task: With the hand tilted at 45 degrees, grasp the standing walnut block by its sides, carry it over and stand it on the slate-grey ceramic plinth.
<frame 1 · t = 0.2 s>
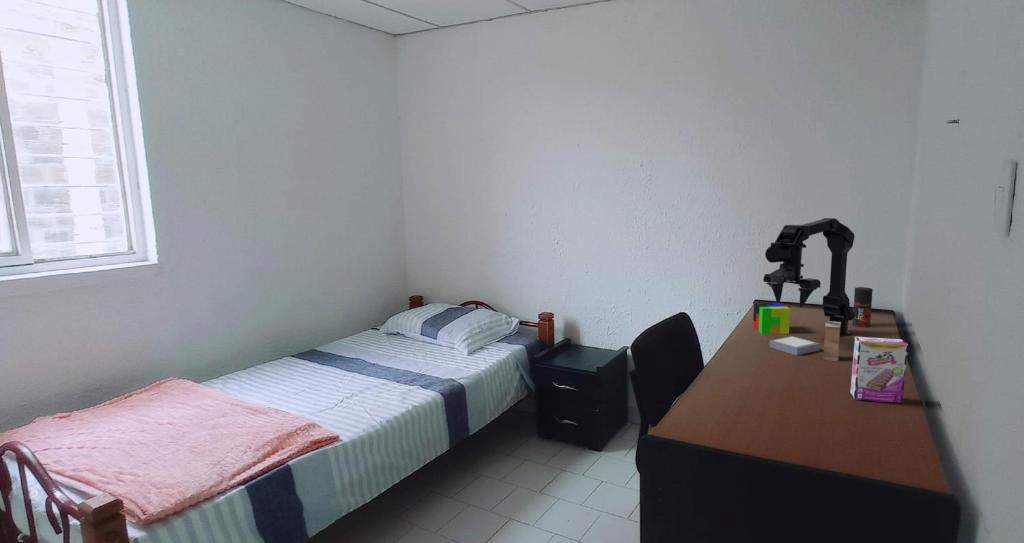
hand: (789, 304, 194), 15 cm above the table, tool pointing down, fingers open, 9 cm apart
walnut block: (830, 358, 180), on the table
puzzle toy: (770, 331, 216), on the table
deodorant: (861, 326, 218), on the table
candy bar box: (876, 399, 147), on the table
plinth: (794, 348, 192), on the table
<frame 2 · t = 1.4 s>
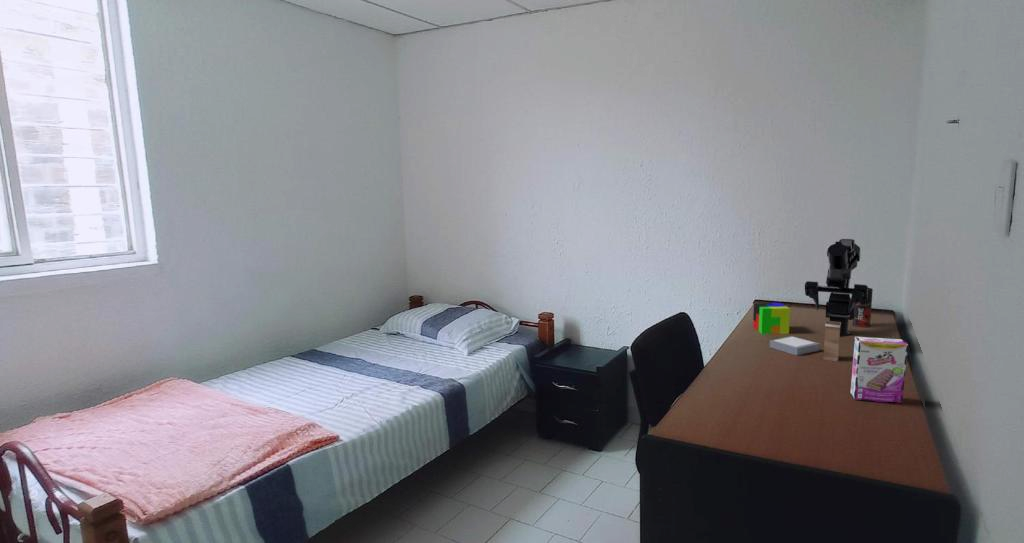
hand: (833, 310, 186), 14 cm above the table, tool tilted 45°, fingers open, 9 cm apart
nothing on the table moved.
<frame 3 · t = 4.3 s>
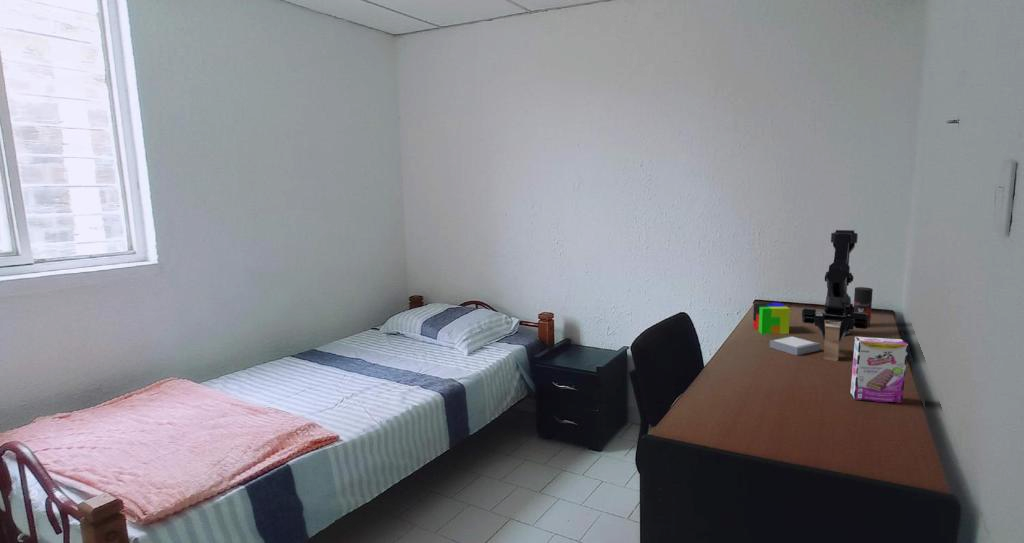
hand: (831, 340, 178), 7 cm above the table, tool tilted 45°, fingers closed on walnut block, 4 cm apart
walnut block: (830, 358, 180), on the table, touching gripper
everything else where it was.
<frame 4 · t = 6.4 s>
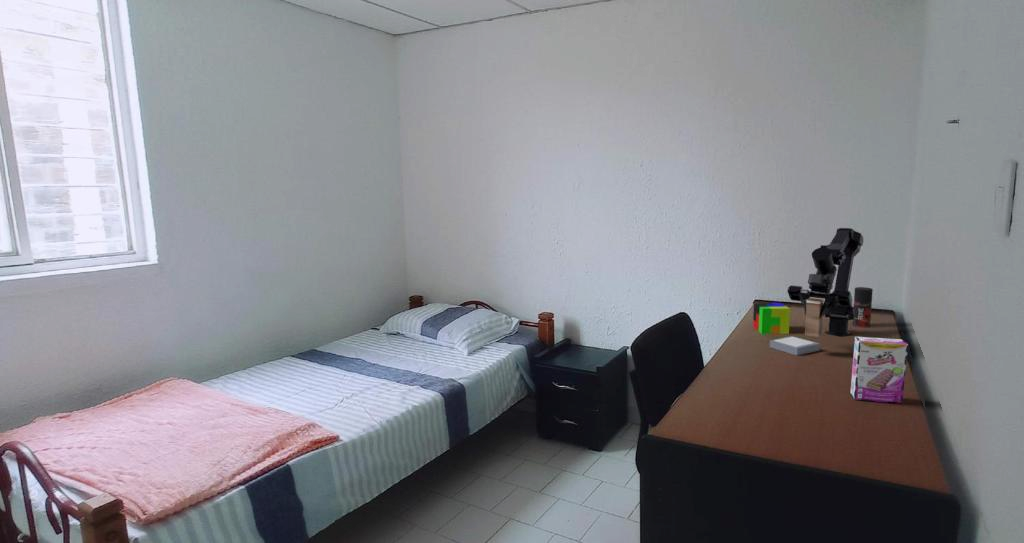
hand: (812, 316, 182), 13 cm above the table, tool tilted 45°, fingers closed on walnut block, 4 cm apart
walnut block: (813, 334, 184), point 7 cm above the table, touching gripper
everything else where it was.
when the fingers open (10 cm above the table, at t = 8.2 s): walnut block stays where it is, resting on plinth.
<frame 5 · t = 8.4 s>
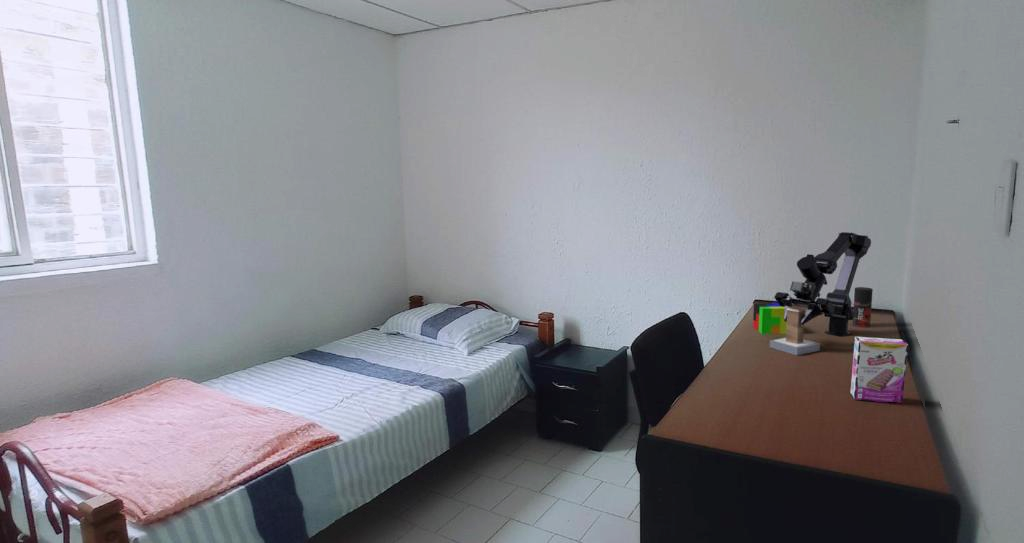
hand: (793, 322, 189), 10 cm above the table, tool tilted 45°, fingers open, 6 cm apart
walnut block: (794, 341, 191), point 3 cm above the table, touching plinth
everything else where it was.
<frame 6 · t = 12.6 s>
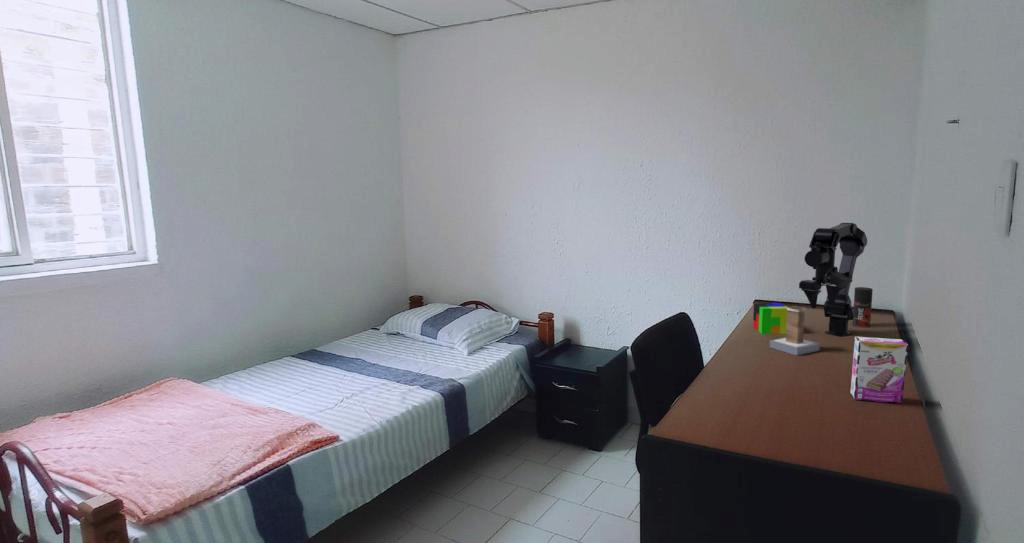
hand: (822, 306, 197), 13 cm above the table, tool pointing down, fingers open, 9 cm apart
nothing on the table moved.
at the end: walnut block inside the target area on the plinth (0.0 cm from its centre), point 2.6 cm above the plinth's base; walnut block tilted 0°; the gripper is holding nothing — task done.
